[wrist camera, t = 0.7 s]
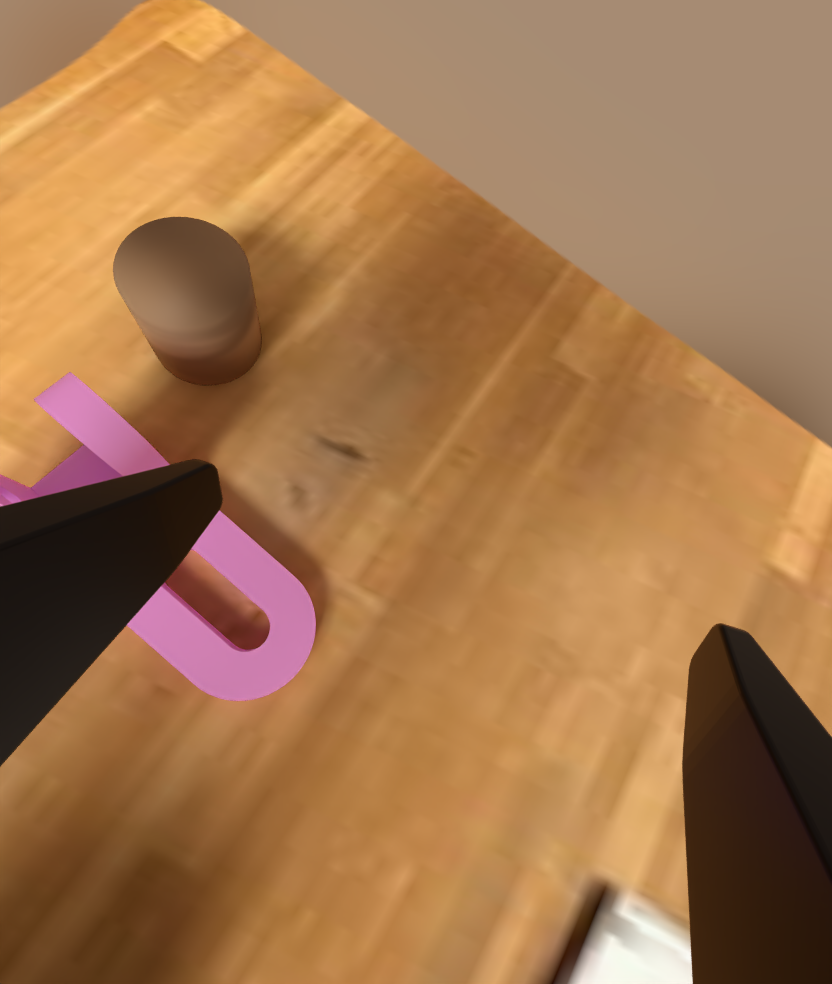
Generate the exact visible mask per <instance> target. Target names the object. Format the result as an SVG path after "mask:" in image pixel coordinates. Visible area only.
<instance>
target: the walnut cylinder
mask: <svg viewBox="0 0 832 984" xmlns="http://www.w3.org/2000/svg"><path fill="white" fill-rule="evenodd" d="M113 274H114V280H115V284H116V287H117V289H118V291H119V293H120V295H121V296H122V298H123V300H124V302H125V303H126V305H127V307H128V308H129V310H130V312H131V313H132V315H133V317H134V318H135V320H136V322H137V323H138V325H139V327H140V329H141V330H142V332H143V334H144V335H145V337H146V339H147V340H148V342H149V344H150V345H151V347H152V349H153V351H154V352H155V354H156V356H157V357H158V359H159V360H160V362H161V363H162V365H163V366H164V367H165V368H166V369H167V370H168V371H169V372H170V373H172V374H173V375H175V376H176V377H178V378H180V379H182V380H184V381H187V382H189V383H193V384H198V385H219V384H224V383H227V382H230V381H233V380H235V379H237V378H239V377H240V376H242V375H243V374H245V373H246V372H247V371H248V370H249V369H250V368H251V367H252V366H253V365H254V363H255V362H256V360H257V358H258V356H259V353H260V350H261V344H262V337H261V331H260V325H259V319H258V314H257V308H256V302H255V297H254V291H253V285H252V279H251V274H250V268H249V263H248V260H247V257H246V255H245V253H244V251H243V250H242V248H241V247H240V245H239V244H238V243H237V242H236V240H235V239H234V238H233V237H231V236H230V235H229V234H228V233H227V232H225V231H224V230H222V229H221V228H219V227H217V226H215V225H213V224H211V223H208V222H206V221H202V220H199V219H194V218H188V217H168V218H162V219H158V220H154V221H151V222H148V223H146V224H144V225H142V226H140V227H139V228H137V229H136V230H134V231H133V232H132V233H130V234H129V235H128V236H127V237H126V238H125V240H124V241H123V242H122V243H121V245H120V247H119V248H118V250H117V253H116V255H115V259H114V264H113Z"/></svg>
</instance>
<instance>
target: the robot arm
mask: <svg viewBox="0 0 832 984" xmlns="http://www.w3.org/2000/svg"><path fill="white" fill-rule="evenodd" d="M222 500H223V498H222V492H221V486H220V481H219V476H218V471H217V469H216V467H215V466H214V465H213V464H211V463H208V462H205V461H201V460H197V459H192V460H188V461H184V462H180V463H175V464H171V465H167V466H163V467H159V468H155V469H151V470H147V471H143V472H139V473H135V474H131V475H127V476H123V477H118V478H114V479H110V480H106V481H102V482H98V483H94V484H90V485H86V486H82V487H78V488H74V489H70V490H66V491H62V492H57V493H53V494H49V495H45V496H41V497H37V498H33V499H29V500H25V501H21V502H17V503H13V504H9V505H5V506H0V766H1V765H2V764H3V763H4V762H5V761H6V760H7V759H8V757H9V756H10V755H11V754H12V753H13V752H14V751H15V750H16V748H17V747H18V746H19V745H20V744H21V743H22V742H23V741H24V739H25V738H26V737H27V736H28V735H29V734H30V733H31V732H32V731H33V729H34V728H35V727H36V726H37V725H38V724H39V723H40V722H41V720H42V719H43V718H44V717H45V716H46V715H47V714H48V713H49V711H50V710H51V709H52V708H53V707H54V706H55V705H56V704H57V703H58V701H59V700H60V699H61V698H62V697H63V696H64V695H65V694H66V692H67V691H68V690H69V689H70V688H71V687H72V686H73V685H74V683H75V682H76V681H77V680H78V679H79V678H80V677H81V676H82V675H83V673H84V672H85V671H86V670H87V669H88V668H89V667H90V666H91V664H92V663H93V662H94V661H95V660H96V659H97V658H98V657H99V655H100V654H101V653H102V652H103V651H104V650H105V649H106V648H107V647H108V645H109V644H110V643H111V642H112V641H113V640H114V639H115V638H116V636H117V635H118V634H119V633H120V632H121V631H122V630H123V629H124V627H125V626H126V625H127V624H128V623H129V622H130V621H131V620H132V618H133V617H134V616H135V615H136V614H137V613H138V612H139V611H140V610H141V608H142V607H143V606H144V605H145V604H146V603H147V602H148V601H149V599H150V598H151V597H152V596H153V595H154V594H155V593H156V592H157V590H158V589H159V588H160V587H161V586H162V585H163V584H164V583H165V582H166V580H167V579H168V578H169V577H170V576H171V575H172V573H173V572H174V571H175V570H176V569H177V567H178V566H179V565H180V563H181V562H182V561H183V560H184V558H185V557H186V555H187V554H188V553H189V551H190V550H191V549H192V547H193V546H194V544H195V543H196V542H197V540H198V539H199V538H200V536H201V535H202V533H203V532H204V531H205V529H206V528H207V527H208V525H209V524H210V522H211V521H212V520H213V518H214V517H215V516H216V514H217V513H218V511H219V510H220V508H221V505H222ZM682 772H683V797H684V817H685V837H686V857H687V877H688V897H689V917H690V937H691V957H692V977H693V984H832V737H831V736H830V734H829V733H828V732H827V730H826V729H825V728H824V727H823V725H822V724H821V723H820V722H819V720H818V719H817V718H816V717H815V715H814V714H813V713H812V711H811V710H810V709H809V708H808V706H807V705H806V704H805V703H804V701H803V700H802V699H801V698H800V696H799V695H798V694H797V693H796V691H795V690H794V689H793V687H792V686H791V685H790V684H789V682H788V681H787V680H786V679H785V677H784V676H783V675H782V674H781V672H780V671H779V670H778V668H777V667H776V666H775V665H774V663H773V662H772V661H771V660H770V658H769V657H768V656H767V655H766V653H765V652H764V651H763V650H762V648H761V647H760V646H759V644H758V643H757V642H756V641H755V639H754V638H753V637H752V636H751V635H750V634H749V633H748V632H746V631H744V630H741V629H738V628H735V627H732V626H729V625H725V624H721V623H720V624H716V625H714V626H713V627H712V628H711V630H710V631H709V633H708V634H707V636H706V637H705V639H704V640H703V642H702V643H701V645H700V646H699V647H698V649H697V650H696V652H695V653H694V655H693V657H692V659H691V663H690V667H689V676H688V689H687V703H686V716H685V729H684V742H683V760H682Z"/></svg>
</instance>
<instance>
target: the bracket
mask: <svg viewBox="0 0 832 984" xmlns="http://www.w3.org/2000/svg"><path fill="white" fill-rule="evenodd" d="M34 400H35V401H36V402H37V403H38V404H39V405H40V406H41V407H42V408H43V409H44V410H45V411H46V412H47V413H48V414H50V415H51V416H52V417H53V418H54V419H55V420H56V421H58V422H59V423H60V424H61V425H62V426H63V427H64V428H66V429H67V430H68V431H69V432H70V433H71V434H72V435H74V436H75V437H76V438H77V439H78V440H80V441H81V442H82V443H83V444H84V445H83V446H81V447H80V448H79V449H78V450H77V451H75V452H74V453H73V454H72V455H70V456H69V457H68V458H67V459H66V460H64V461H63V462H62V463H61V464H59V465H58V466H57V467H56V468H55V469H53V470H52V471H51V472H50V473H48V474H47V475H46V476H45V477H44V478H42V479H41V480H40V481H39V482H37V483H36V484H35V485H34V486H33V487H31V488H29V487H27V486H25V485H23V484H20V483H18V482H16V481H14V480H11V479H9V478H7V477H5V476H3V475H0V506H5V505H9V504H13V503H17V502H21V501H25V500H29V499H33V498H37V497H41V496H45V495H49V494H53V493H57V492H62V491H66V490H70V489H74V488H78V487H82V486H86V485H90V484H94V483H98V482H102V481H106V480H110V479H114V478H118V477H123V476H127V475H131V474H135V473H139V472H143V471H147V470H151V469H155V468H159V467H163V466H167V465H170V464H169V463H168V462H167V461H166V460H165V459H164V458H163V457H162V456H161V455H160V454H159V453H158V452H157V451H156V449H155V448H154V447H153V446H152V445H151V444H150V443H149V442H148V441H147V440H146V439H145V438H144V437H143V436H141V435H140V434H139V433H138V432H137V431H136V430H135V429H134V428H133V427H132V426H131V425H130V424H129V423H128V422H127V421H126V420H124V419H123V418H122V417H121V416H120V415H119V414H118V413H117V412H116V411H115V410H114V409H112V408H111V407H110V406H109V405H108V404H107V403H106V402H105V401H104V400H102V399H101V398H100V397H99V396H98V395H97V394H96V393H95V392H93V391H92V390H91V389H90V388H89V387H88V386H87V385H85V384H84V383H83V382H82V381H81V380H80V379H78V378H77V377H76V376H75V375H73V374H72V373H71V372H69V373H68V374H66V375H65V376H64V377H62V378H61V379H60V380H58V381H57V382H56V383H54V384H53V385H52V386H50V387H49V388H48V389H46V390H45V391H44V392H43V393H41V394H40V395H39V396H37V397H36V398H35V399H34ZM191 550H194V551H196V552H197V553H198V554H200V555H201V556H202V557H203V558H204V559H205V560H206V561H207V562H209V563H210V564H211V565H212V566H213V567H214V568H215V569H217V570H218V571H219V572H220V573H221V574H222V575H223V576H224V577H226V578H227V579H228V580H229V581H230V582H231V583H232V584H234V585H235V586H236V587H237V588H238V589H239V590H240V591H242V592H243V593H244V594H245V595H246V596H247V597H248V598H249V599H251V600H252V601H253V602H254V603H255V604H256V605H257V606H259V607H260V608H261V609H262V610H263V611H264V612H265V613H266V614H267V616H268V618H269V621H270V632H269V635H268V637H267V639H266V641H265V642H264V643H263V644H262V645H261V646H260V647H258V648H255V649H251V650H245V649H241V648H238V647H237V646H235V645H234V644H233V643H232V642H231V641H230V640H228V639H227V638H226V637H225V636H224V635H223V634H222V633H220V632H219V631H218V630H217V629H216V628H215V627H214V626H212V625H211V624H210V623H209V622H208V621H207V620H206V619H205V618H203V617H202V616H201V615H200V614H199V613H198V612H197V611H195V610H194V609H193V608H192V607H191V606H190V605H189V604H188V603H186V602H185V601H184V600H183V599H182V598H181V597H180V596H178V595H177V594H176V593H175V592H174V591H173V590H172V589H170V588H169V587H168V586H167V584H166V583H164V584H163V585H162V586H161V587H160V588H159V589H158V590H157V592H156V593H155V594H154V595H153V596H152V597H151V598H150V599H149V601H148V602H147V603H146V604H145V605H144V606H143V607H142V608H141V610H140V611H139V612H138V613H137V614H136V615H135V616H134V617H133V618H132V620H131V621H130V622H129V623H128V624H127V626H128V627H129V628H131V629H132V630H133V631H134V632H135V633H136V634H137V635H139V636H140V637H141V638H142V639H143V640H144V641H145V642H146V643H148V644H149V645H150V646H151V647H152V648H153V649H154V650H156V651H157V652H158V653H159V654H160V655H161V656H162V657H164V658H165V659H166V660H167V661H168V662H169V663H170V664H171V665H173V666H174V667H175V668H176V669H177V670H178V671H179V672H181V673H182V674H183V675H184V676H185V677H186V678H187V679H188V680H190V681H191V682H192V683H193V684H194V685H195V686H197V687H198V688H199V689H201V690H202V691H204V692H206V693H207V694H209V695H212V696H214V697H217V698H220V699H225V700H231V701H246V700H253V699H257V698H261V697H263V696H266V695H269V694H271V693H273V692H275V691H277V690H278V689H280V688H281V687H283V686H284V685H285V684H287V683H288V682H289V681H290V680H291V679H292V678H293V677H294V676H295V675H296V674H297V673H298V672H299V670H300V669H301V668H302V666H303V665H304V663H305V662H306V660H307V658H308V656H309V654H310V651H311V649H312V646H313V642H314V637H315V630H316V619H315V612H314V607H313V604H312V601H311V598H310V596H309V594H308V592H307V591H306V589H305V588H304V586H303V585H302V584H301V582H300V581H299V580H298V579H297V578H296V577H295V576H294V575H292V574H291V573H290V572H289V571H288V570H287V569H286V568H285V567H283V566H282V565H281V564H280V563H279V562H278V561H277V560H275V559H274V558H273V557H272V556H271V555H270V554H269V553H267V552H266V551H265V550H264V549H263V548H262V547H261V546H260V545H258V544H257V543H256V542H255V541H254V540H253V539H252V538H250V537H249V536H248V535H247V534H246V533H245V532H244V531H242V530H241V529H240V528H239V527H238V526H237V525H236V524H235V523H233V522H232V521H231V520H230V519H229V518H228V517H227V516H225V515H224V514H223V513H222V512H221V511H220V510H219V511H218V513H217V514H216V516H215V517H214V518H213V520H212V521H211V522H210V524H209V525H208V527H207V528H206V529H205V531H204V532H203V533H202V535H201V536H200V538H199V539H198V540H197V542H196V543H195V544H194V546H193V547H192V549H191Z"/></svg>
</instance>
